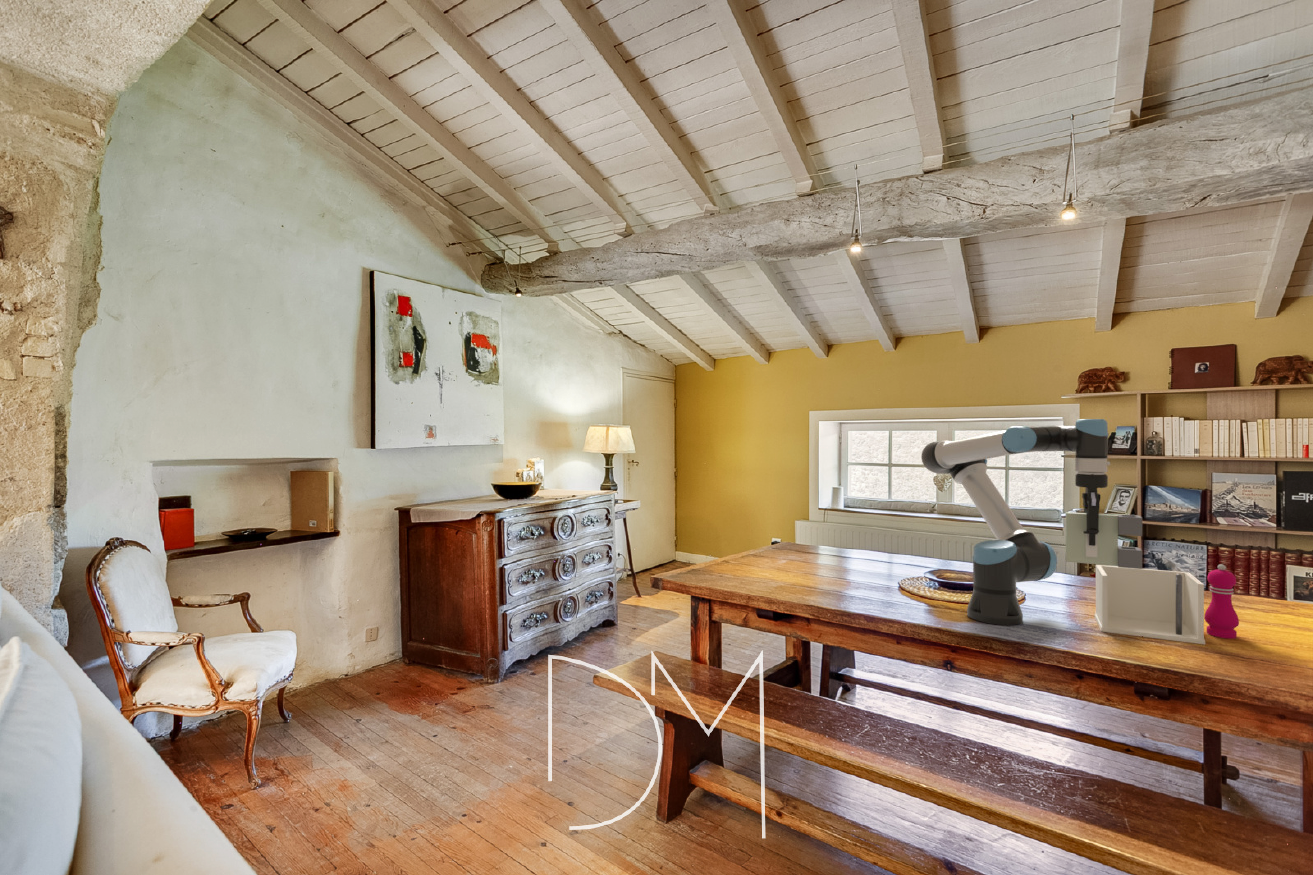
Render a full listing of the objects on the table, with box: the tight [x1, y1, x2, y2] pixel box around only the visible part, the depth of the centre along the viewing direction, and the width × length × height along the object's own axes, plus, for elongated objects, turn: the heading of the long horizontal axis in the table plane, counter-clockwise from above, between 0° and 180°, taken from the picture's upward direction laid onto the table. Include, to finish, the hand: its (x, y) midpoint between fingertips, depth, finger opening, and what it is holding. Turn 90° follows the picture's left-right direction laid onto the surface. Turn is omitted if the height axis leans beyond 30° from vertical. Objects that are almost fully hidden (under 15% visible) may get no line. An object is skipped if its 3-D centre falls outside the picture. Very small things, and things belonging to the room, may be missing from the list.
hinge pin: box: [1176, 574, 1182, 635], centre depth 173 cm, size 1×1×17 cm
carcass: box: [1094, 564, 1206, 645], centre depth 180 cm, size 23×16×16 cm
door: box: [1065, 511, 1143, 569], centre depth 176 cm, size 17×5×14 cm, turn 60°
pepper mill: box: [1204, 563, 1240, 640], centre depth 175 cm, size 7×7×20 cm
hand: (1090, 555), depth 177 cm, fingers closed on door, 2 cm apart
